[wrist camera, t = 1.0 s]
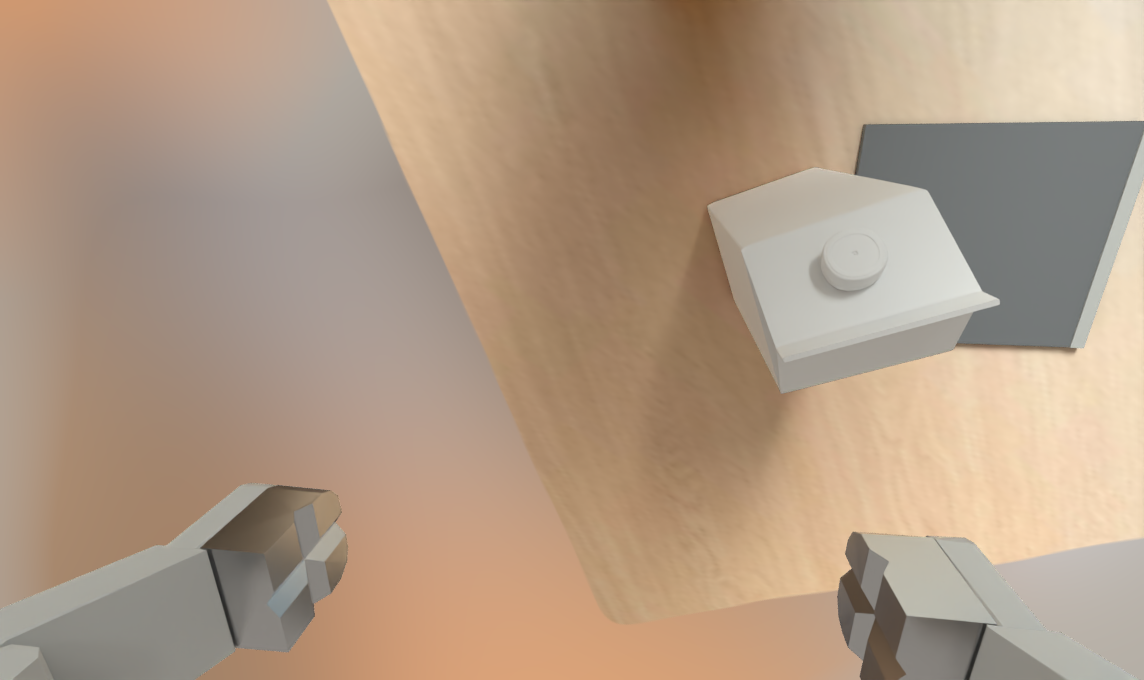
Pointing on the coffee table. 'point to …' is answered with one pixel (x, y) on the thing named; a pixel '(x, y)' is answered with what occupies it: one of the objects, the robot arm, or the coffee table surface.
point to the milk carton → (843, 275)
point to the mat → (1023, 213)
